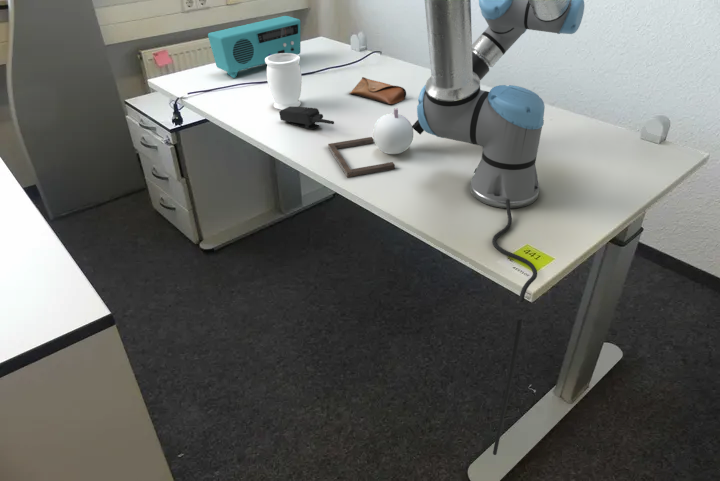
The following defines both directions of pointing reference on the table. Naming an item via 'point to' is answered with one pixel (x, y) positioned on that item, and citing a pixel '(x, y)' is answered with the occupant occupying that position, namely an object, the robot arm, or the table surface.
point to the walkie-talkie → (303, 117)
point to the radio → (254, 43)
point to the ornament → (393, 133)
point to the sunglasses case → (379, 91)
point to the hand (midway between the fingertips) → (415, 130)
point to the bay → (362, 170)
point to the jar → (284, 79)
